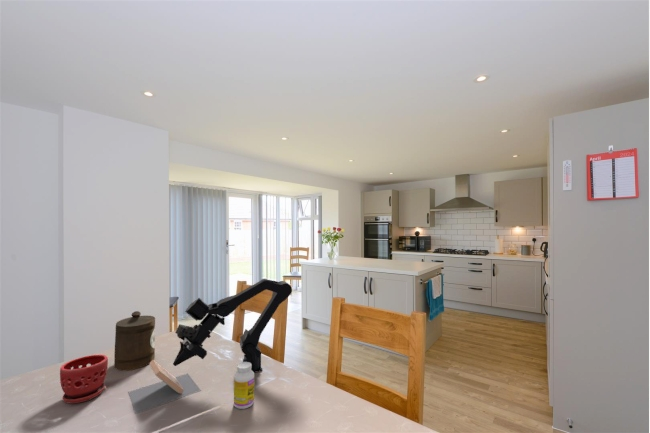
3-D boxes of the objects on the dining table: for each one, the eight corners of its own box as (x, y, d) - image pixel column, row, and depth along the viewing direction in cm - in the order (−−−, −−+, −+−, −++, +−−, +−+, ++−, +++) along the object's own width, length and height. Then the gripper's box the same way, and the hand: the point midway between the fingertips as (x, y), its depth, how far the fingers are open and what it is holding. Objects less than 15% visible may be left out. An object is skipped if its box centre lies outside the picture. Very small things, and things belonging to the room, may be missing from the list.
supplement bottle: (248, 411, 96) (249, 370, 96) (229, 408, 97) (230, 368, 97) (257, 399, 102) (257, 361, 102) (239, 396, 103) (240, 359, 104)
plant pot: (116, 389, 108) (116, 356, 109) (75, 410, 96) (76, 373, 96) (91, 382, 113) (92, 351, 113) (49, 402, 100) (50, 366, 101)
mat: (187, 374, 118) (187, 373, 118) (201, 392, 106) (201, 390, 106) (128, 393, 105) (128, 391, 105) (135, 415, 93) (135, 413, 93)
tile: (175, 377, 113) (152, 359, 108) (183, 390, 105) (159, 370, 100) (171, 381, 112) (148, 363, 108) (179, 394, 104) (155, 375, 99)
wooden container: (161, 360, 132) (162, 310, 132) (124, 374, 119) (125, 319, 120) (144, 352, 139) (144, 305, 140) (107, 364, 127) (108, 313, 127)
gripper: (183, 310, 119) (151, 345, 112) (198, 322, 105) (162, 363, 97) (203, 326, 124) (173, 360, 117) (220, 339, 110) (187, 379, 102)
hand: (174, 365), depth 108 cm, fingers closed
